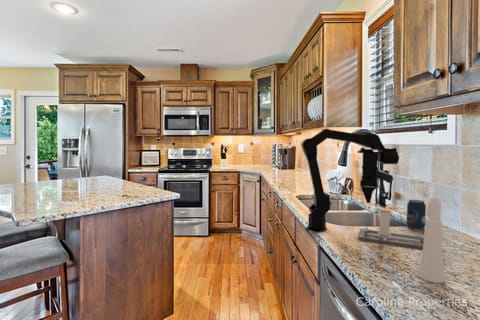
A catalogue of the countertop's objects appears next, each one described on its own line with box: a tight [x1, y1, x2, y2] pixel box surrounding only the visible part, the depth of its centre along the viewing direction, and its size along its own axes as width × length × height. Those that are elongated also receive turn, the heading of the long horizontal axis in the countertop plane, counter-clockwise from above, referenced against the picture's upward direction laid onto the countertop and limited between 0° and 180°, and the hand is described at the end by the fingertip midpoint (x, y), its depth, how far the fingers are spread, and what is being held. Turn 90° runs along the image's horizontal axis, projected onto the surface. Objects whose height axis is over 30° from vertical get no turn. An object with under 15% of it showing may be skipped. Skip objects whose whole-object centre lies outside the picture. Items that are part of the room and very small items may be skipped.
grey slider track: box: [358, 227, 424, 250], centre depth 104 cm, size 24×12×3 cm, turn 63°
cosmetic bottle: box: [417, 196, 446, 284], centre depth 74 cm, size 6×6×22 cm
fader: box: [378, 207, 391, 236], centre depth 105 cm, size 4×4×10 cm
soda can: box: [406, 199, 427, 230], centre depth 121 cm, size 7×7×12 cm
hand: (368, 200), depth 115 cm, fingers open, 9 cm apart
